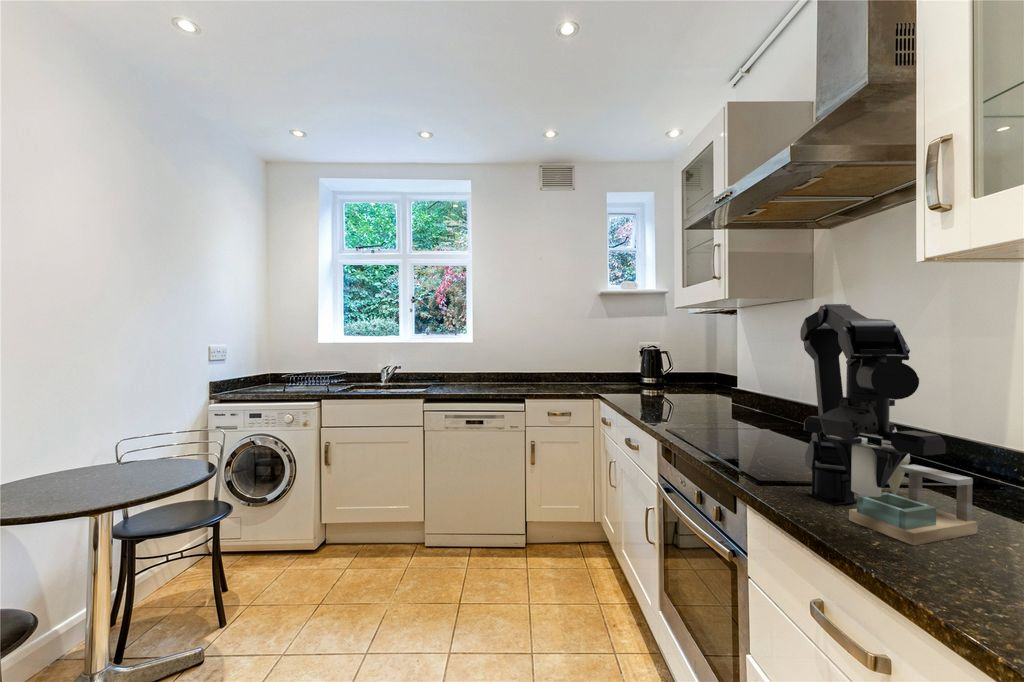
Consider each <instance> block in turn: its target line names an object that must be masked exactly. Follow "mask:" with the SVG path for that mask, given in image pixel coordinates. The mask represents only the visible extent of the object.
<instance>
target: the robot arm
mask: <svg viewBox="0 0 1024 682" xmlns="http://www.w3.org/2000/svg"><path fill="white" fill-rule="evenodd" d="M799 335H800V340H801V342H803V348H804V349H803V350H804V351H805V352H806V353H807V355H808V356H809V357H811V359H812V360H813V365H814V373H815V374H814V377H815V378H814V379H815V387H816V389H815V391H816V397H817V398H816V399H817V400H816V401H817V411H818V415H809V416H807V417H806V418H805V420H804V421H803V431H805V432H809V433H811V440H810V441H809V443H808V446H807V449H806V451H805V456H804V459H805V465H806V466H807V467H808V468H809V469H810V470H811V490H810V491H809V490H808V491H806V495H807V496H810V497H813V498H815V499H817V500H821V501H824V502H826V503H829V504H832V505H835V506H837V505H846V504H853V503H857V498H855V493H854V492H852V491H851V464H852V444H861V442H862V438H858V437H863V438H867V439H868V440H873V441H879V442H881V446H878V447H875V448H872V449H873V451H874V452H875V454H876V456H877V471H876V481H877V487H879V488H884V487H886V485H887V483H889V482H888V480H889V478H890V477H891V475H892V474H893V472H894V471H895V469H896V468H897V466H898V465H899V464H900V463H901V461H902V460H903V459H904V458H905V457H906V456H907V454H909V455H910V454H911V455H915V456H933V455H934V456H935V455H944V454H945V455H946V453H947V452H946V450H947V449H946V448H947V447H946V446H947V445H946V444H947V443H946V442H945V440H944V438H943V437H942V436H941V435H939V434H935V433H932V432H931V433H930V432H926V431H925V432H924V431H918V430H903V431H902V430H901V431H897V432H892V431H893V430H895V427H896V425H895V423H890V407H895V406H896V400H898V401H899V400H903V399H907V398H909V397H911V396H912V395H914V394H915V392H917V390H918V388H919V384H920V378H919V376H918V374H917V372H916V370H915V369H914V368H912V367H911V366H909V365H908V364H906V363H904V362H903V361H909V360H910V356H909V354H910V353H911V350H910V348H909V346H908V344H907V341H906V340H905V338H904V336H903V334H902V332H901V329H900V328H899V327H898V326H897V324H896V323H895V322H894V321H893V320H890V319H883V318H868V317H866V316H864V315H863V314H861V313H860V312H858V311H856V310H854V309H853V308H852V306H851V305H849V304H847V303H830V304H829V303H827V304H823V305H820V306H819V308H818V310H817V311H816V312H814V313H812V314H810V315H808V316H807V317H805V318H804V320H803V323H802V325H801V327H800V333H799ZM842 353H843V355H844V357H845V359H846V361H845V363H846V383H845V384H846V391H845V396H844V392H843V390H844V389H843V382H842V381H843V380H842V374H841V363H840V355H841V354H842Z"/></svg>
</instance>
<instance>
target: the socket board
mask: <svg viewBox="0 0 1024 682" xmlns="http://www.w3.org/2000/svg"><path fill="white" fill-rule="evenodd" d="M899 471H901V472H905V474H908V498H906V497H904V496H900V495H897V494H896V495H894V494H892V492H891V493H889V492H886V491H883V492H882V493H881V497H870V496H864V495H860V494H858V495H856V499H857V502H856V508H851V509H850V508H849V510H848V521H850V522H852V523H855V524H856V525H860V526H863V527H866V528H867V529H870V530H873V531H875V532H877V533H880V534H884V535H885V536H888V537H891V538H893V539H896V540H899V541H900V542H902V543H903V542H904V543H906V544H908V545H910V546H919V545H924V544H928V543H929V544H930V543H934V542H940V541H945V540H949V539H951V540H952V539H958V538H960V537H966V536H972V535H977V534H978V526H979V525H978V524H979V523H978V521H975V520H973V484H974V479H973V477H969V476H965V475H961V474H957V473H951V472H947V471H944V470H939V469H937V468H933V467H927V466H923V465H918V464H916V463H915V464H914V463H913V464H908V465H903V466H899ZM923 478H926V479H929V480H933V481H937V482H941V483H946V484H948V485H949V484H950V485H953V486H956V515H955V514H952V513H949V512H946V511H942V510H940V509H937V507H935V506H933V505H929V504H928V503H927V504H926V503H924V502H923Z"/></svg>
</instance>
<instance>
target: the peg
mask: <svg viewBox="0 0 1024 682" xmlns="http://www.w3.org/2000/svg"><path fill="white" fill-rule="evenodd" d="M875 447H879V446H877V445H873V444H868V443H867V444H852V464H851V491H852V492H854V494H857V495H864V496H870V497H881V493H883V492H882V488H883V487H882V488H879V487H877V481H876V471H877V456H876V454H875V452H874V451H873V449H872V448H875Z"/></svg>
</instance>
